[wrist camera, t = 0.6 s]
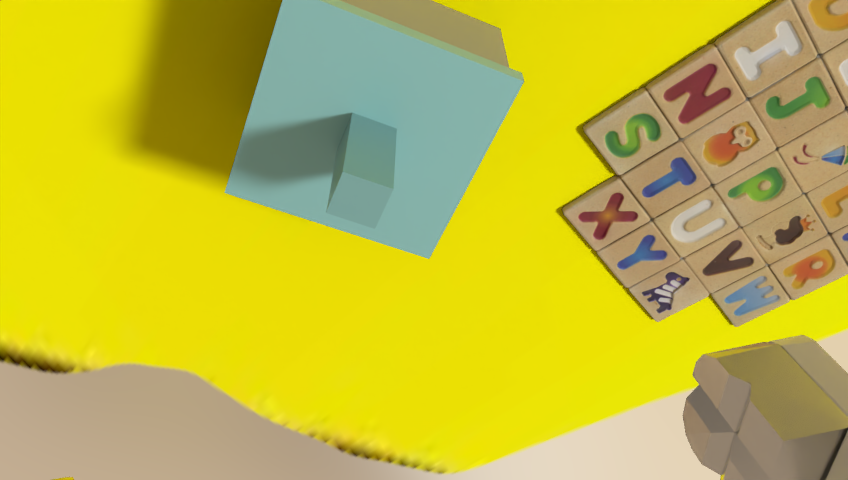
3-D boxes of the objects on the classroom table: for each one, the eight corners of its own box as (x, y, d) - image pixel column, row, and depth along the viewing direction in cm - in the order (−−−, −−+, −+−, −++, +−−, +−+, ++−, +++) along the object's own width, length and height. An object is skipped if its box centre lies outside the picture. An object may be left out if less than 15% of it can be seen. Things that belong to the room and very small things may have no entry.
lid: (291, -26, 43) (265, 34, 36) (520, 66, 47) (538, 138, 39) (231, 175, 52) (199, 257, 44) (428, 240, 55) (430, 326, 48)
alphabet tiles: (522, 162, 60) (523, 169, 59) (954, -118, 47) (964, -115, 46) (680, 349, 73) (683, 357, 72) (1051, 169, 60) (1059, 176, 59)
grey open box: (311, -49, 49) (295, -9, 43) (500, 28, 52) (511, 77, 46) (257, 123, 57) (237, 179, 51) (424, 182, 60) (425, 241, 54)
